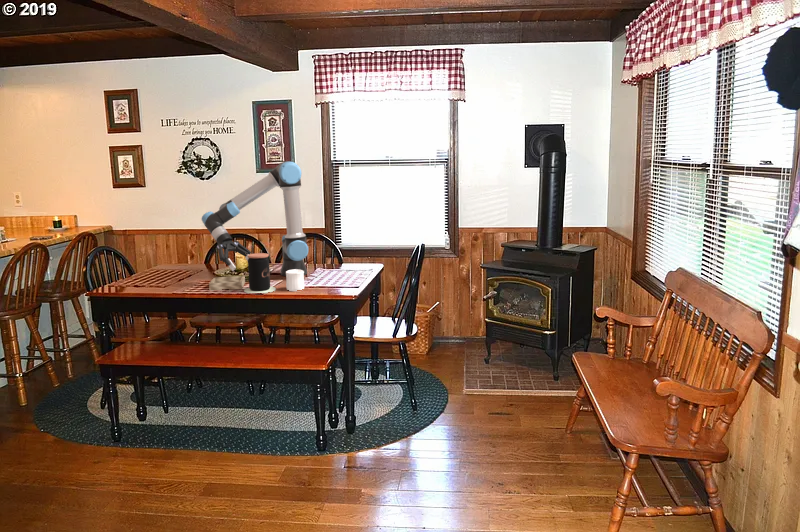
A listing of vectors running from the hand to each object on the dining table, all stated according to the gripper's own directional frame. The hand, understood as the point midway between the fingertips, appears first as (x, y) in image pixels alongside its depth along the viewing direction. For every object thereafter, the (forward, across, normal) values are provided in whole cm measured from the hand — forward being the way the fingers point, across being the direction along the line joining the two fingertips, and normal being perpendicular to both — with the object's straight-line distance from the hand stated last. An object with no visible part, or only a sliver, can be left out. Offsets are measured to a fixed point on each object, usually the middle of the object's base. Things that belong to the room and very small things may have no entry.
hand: (244, 267), depth 341 cm
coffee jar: (+15, 0, 0) cm, 15 cm away
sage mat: (+15, 0, 0) cm, 15 cm away
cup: (+26, -11, +10) cm, 30 cm away
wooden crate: (-1, +1, -16) cm, 17 cm away
